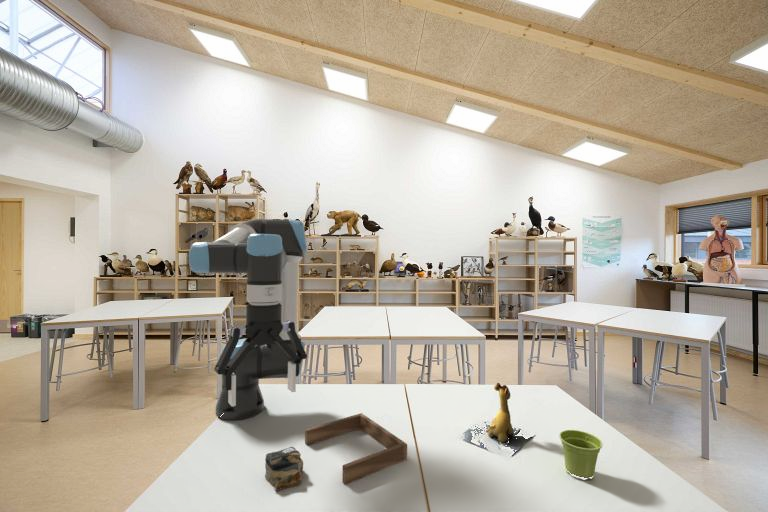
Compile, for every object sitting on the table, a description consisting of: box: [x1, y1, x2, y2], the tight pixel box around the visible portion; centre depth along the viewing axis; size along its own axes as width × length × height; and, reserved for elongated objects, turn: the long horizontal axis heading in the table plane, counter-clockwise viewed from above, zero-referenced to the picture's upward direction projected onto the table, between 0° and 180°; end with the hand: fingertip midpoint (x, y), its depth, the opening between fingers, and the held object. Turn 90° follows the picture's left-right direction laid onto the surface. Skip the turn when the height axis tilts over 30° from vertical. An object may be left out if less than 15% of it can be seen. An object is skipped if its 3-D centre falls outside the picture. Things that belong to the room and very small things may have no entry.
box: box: [304, 412, 408, 485], centre depth 101 cm, size 22×19×4 cm
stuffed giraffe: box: [461, 382, 530, 456], centre depth 111 cm, size 16×18×16 cm
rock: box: [264, 446, 304, 492], centre depth 89 cm, size 9×9×6 cm
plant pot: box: [558, 429, 603, 478], centre depth 93 cm, size 9×9×9 cm
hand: (263, 397), depth 84 cm, fingers open, 13 cm apart
